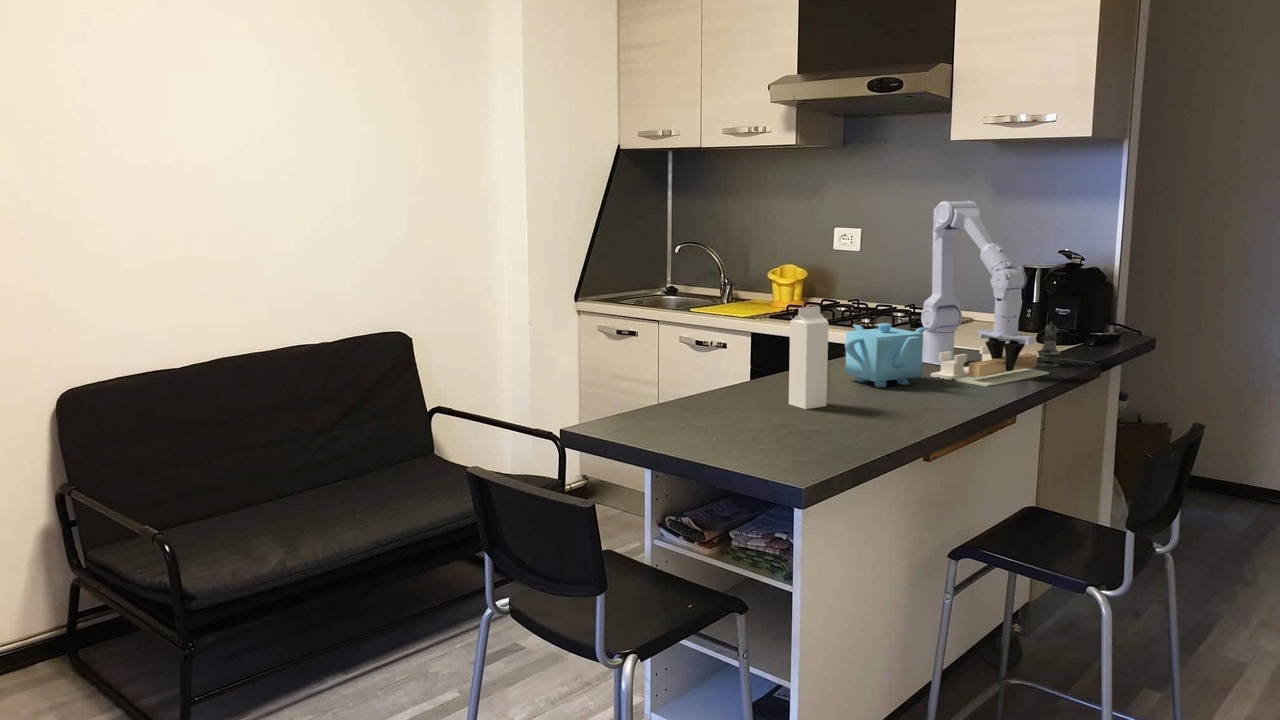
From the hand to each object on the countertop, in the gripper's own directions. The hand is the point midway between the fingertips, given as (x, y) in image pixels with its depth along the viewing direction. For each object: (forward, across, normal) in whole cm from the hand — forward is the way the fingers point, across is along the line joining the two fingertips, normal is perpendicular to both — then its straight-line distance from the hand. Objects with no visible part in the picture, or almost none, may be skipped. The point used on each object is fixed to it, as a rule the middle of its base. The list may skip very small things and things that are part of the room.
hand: (1003, 369), depth 243 cm
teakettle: (+2, -14, -28) cm, 31 cm away
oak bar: (0, 0, 0) cm, 0 cm away
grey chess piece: (+2, -3, +24) cm, 25 cm away
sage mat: (+2, 0, 0) cm, 2 cm away
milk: (+2, -7, -62) cm, 62 cm away
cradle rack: (+2, -9, 0) cm, 9 cm away
